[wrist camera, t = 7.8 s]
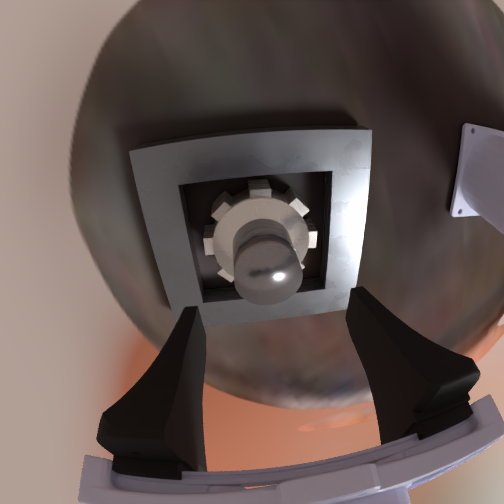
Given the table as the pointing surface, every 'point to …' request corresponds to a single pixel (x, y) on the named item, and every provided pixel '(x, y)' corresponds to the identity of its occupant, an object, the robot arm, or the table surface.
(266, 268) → the planet gear
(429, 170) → the table surface
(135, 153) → the carrier plate
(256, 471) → the robot arm
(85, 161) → the table surface
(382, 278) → the table surface
